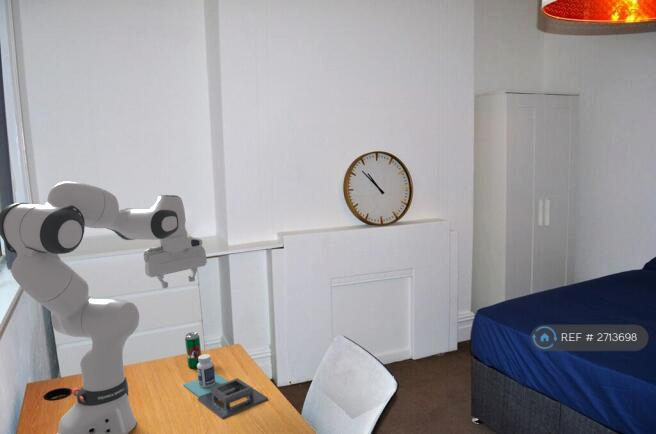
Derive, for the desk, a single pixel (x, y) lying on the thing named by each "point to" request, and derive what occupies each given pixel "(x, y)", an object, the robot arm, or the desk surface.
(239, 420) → the desk surface
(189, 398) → the desk surface
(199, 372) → the pill bottle
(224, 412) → the square frame
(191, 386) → the mat
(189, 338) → the soda can
